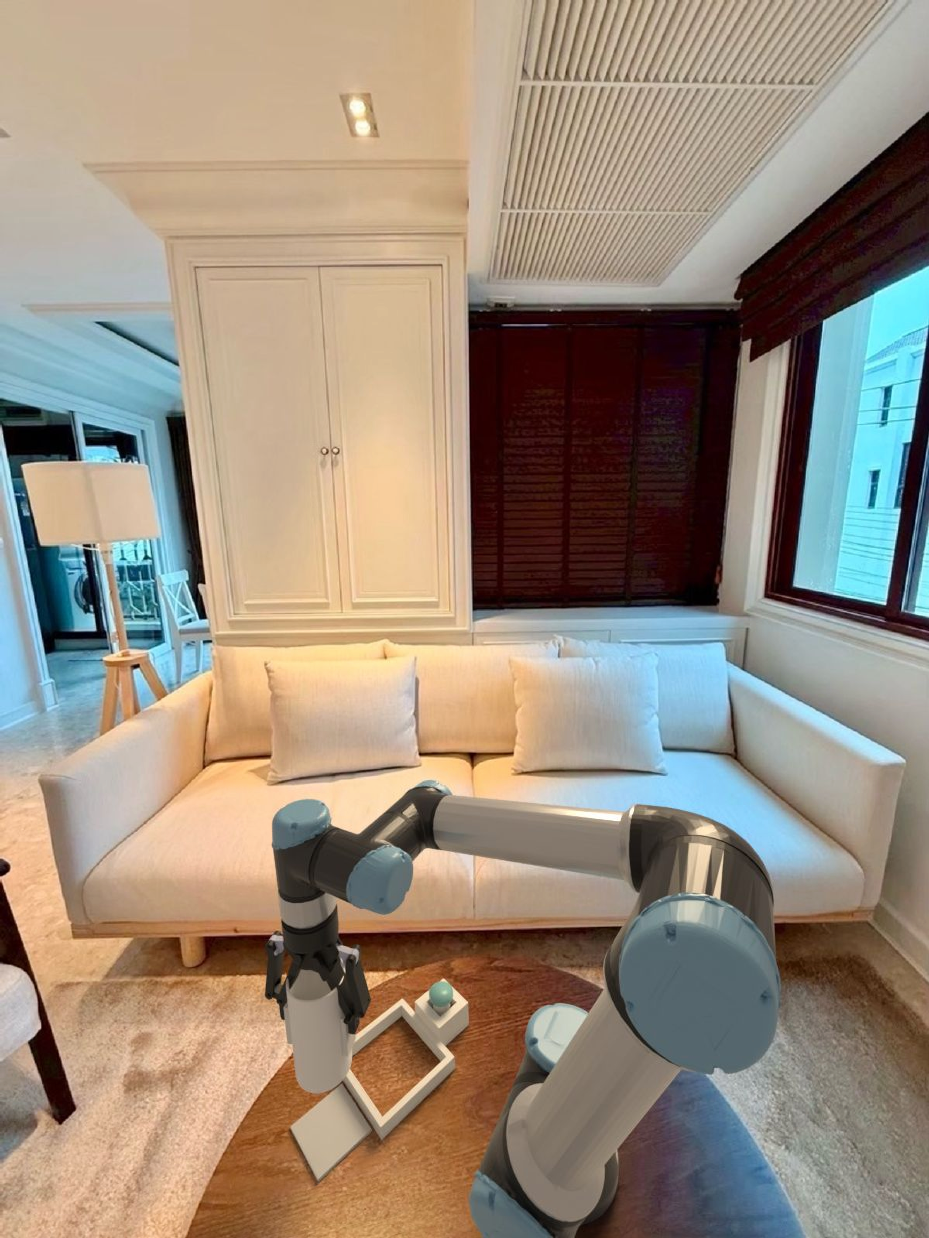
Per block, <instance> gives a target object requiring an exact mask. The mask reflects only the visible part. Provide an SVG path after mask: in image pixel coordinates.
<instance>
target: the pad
mask: <svg viewBox="0 0 929 1238" xmlns="http://www.w3.org/2000/svg"><path fill="white" fill-rule="evenodd" d="M290 1130H291V1133H292V1134H293V1136H294V1138H295V1141H296V1142H297V1145H298V1146H299V1149H300V1150H301V1152H302V1153H303V1154H302V1155H303V1156H304V1157H305V1159H306V1162H307V1163H308V1166H309V1167H310V1169H311V1172H312V1173H313V1175H314V1177H315V1178H316V1181H317V1183H319V1182H320V1181H321V1180H322V1179H323V1178H324V1177H325V1176H327V1174H329V1172H330V1171H332V1170H333V1169H334V1168H335V1167H336V1166H337V1165H338V1164H339V1163H340V1162H341V1161H342V1160H344V1158H346V1157H347V1156H348V1155H349V1154H350V1153H351V1152H352V1151H353V1150H354V1149H355V1148H356V1147H357V1146H358V1145H359V1144H360V1143H362V1141H363V1140H364V1139H366V1138H367V1136H369V1135H370V1133H371V1134H372V1128H371V1126H370V1124H369V1123H368V1122H367V1120H366V1118H365V1117H364V1116H363V1114H362V1111H360V1109H359V1108H358V1106H357V1104H356V1103H355V1102H354V1100H353V1098H352V1097H351V1096H350V1094H349V1092H348V1091H347V1089H346V1087H345V1086H344V1084H343V1083H339V1084H338V1085H337V1086H336V1088H334V1089H332V1091H331V1092H330V1093H329V1094H328V1095H327V1094H326V1096H325V1097H324V1098H323V1099H321V1100H320V1101H319V1102H317V1104H315V1105H314V1106H313V1107H312V1108H311V1109H309V1110H308V1111H307V1112H306V1113H304V1114H303V1115H302V1116H301V1117H300V1118H299V1119H297V1120H296V1121H295V1122H293V1124H291V1125H290Z"/></svg>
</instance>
